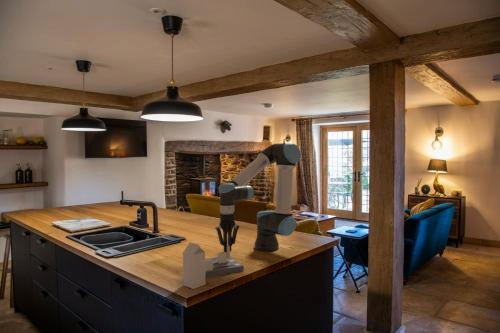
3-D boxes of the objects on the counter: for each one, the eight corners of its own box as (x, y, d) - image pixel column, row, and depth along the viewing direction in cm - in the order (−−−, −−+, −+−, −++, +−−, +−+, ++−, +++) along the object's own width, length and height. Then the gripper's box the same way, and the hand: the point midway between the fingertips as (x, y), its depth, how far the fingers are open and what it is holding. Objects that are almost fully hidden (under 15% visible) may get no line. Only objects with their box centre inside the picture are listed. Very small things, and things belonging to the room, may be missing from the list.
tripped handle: (223, 260, 185) (223, 250, 185) (226, 262, 182) (226, 252, 182) (216, 261, 183) (216, 251, 183) (219, 263, 180) (219, 253, 180)
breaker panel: (227, 259, 195) (227, 246, 195) (243, 270, 177) (243, 255, 177) (185, 266, 184) (185, 252, 184) (197, 278, 166) (197, 263, 166)
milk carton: (193, 289, 153) (192, 246, 153) (183, 285, 158) (182, 243, 157) (205, 284, 159) (205, 243, 158) (195, 281, 163) (194, 240, 163)
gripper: (218, 215, 177) (218, 261, 178) (241, 213, 183) (242, 258, 184) (212, 212, 183) (213, 257, 184) (235, 211, 189) (235, 254, 190)
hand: (227, 258), depth 184 cm, fingers closed
